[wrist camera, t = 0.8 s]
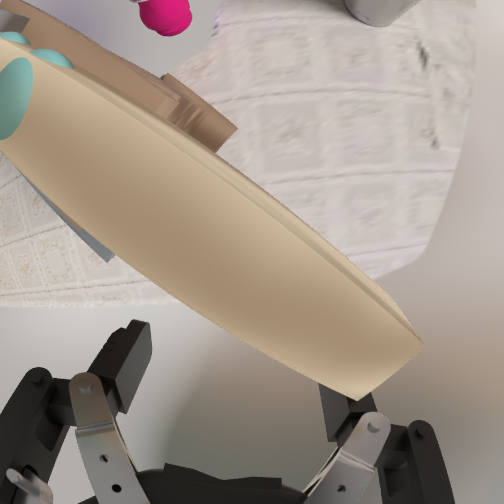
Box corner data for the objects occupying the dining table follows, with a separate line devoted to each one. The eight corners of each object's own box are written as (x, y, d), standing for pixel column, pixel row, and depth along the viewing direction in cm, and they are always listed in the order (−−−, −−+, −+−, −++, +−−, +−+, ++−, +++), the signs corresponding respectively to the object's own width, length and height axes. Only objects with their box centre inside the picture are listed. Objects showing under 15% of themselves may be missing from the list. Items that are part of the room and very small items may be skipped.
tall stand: (165, 71, 33) (11, -13, 4) (243, 132, 37) (177, 85, 7) (137, 105, 35) (-43, 84, 6) (211, 167, 39) (74, 238, 9)
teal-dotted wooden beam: (5, 10, 4) (-40, 1, 1) (409, 280, 9) (462, 342, 6) (-33, 87, 6) (-79, 90, 2) (323, 361, 11) (340, 436, 7)
